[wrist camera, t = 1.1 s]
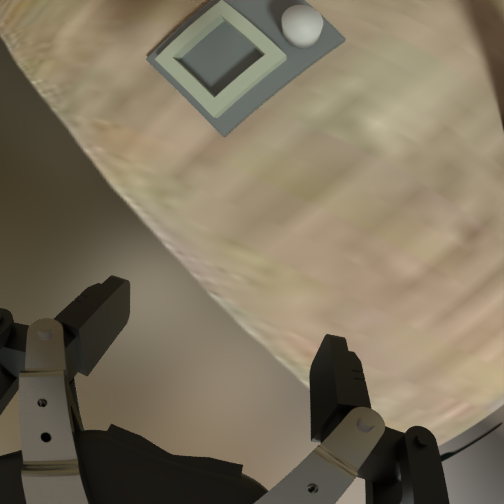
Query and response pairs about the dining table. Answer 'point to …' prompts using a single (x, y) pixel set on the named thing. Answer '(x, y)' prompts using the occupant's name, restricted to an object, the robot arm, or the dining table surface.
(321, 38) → the base board
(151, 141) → the dining table surface
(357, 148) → the dining table surface
